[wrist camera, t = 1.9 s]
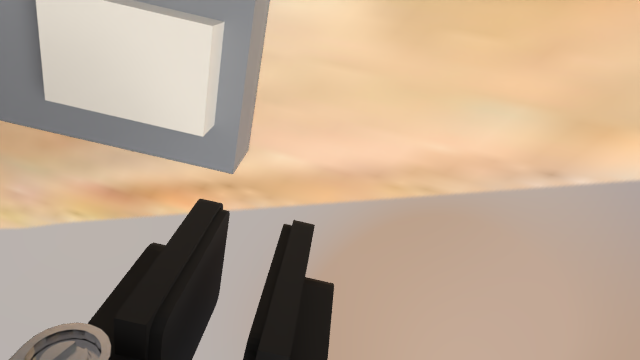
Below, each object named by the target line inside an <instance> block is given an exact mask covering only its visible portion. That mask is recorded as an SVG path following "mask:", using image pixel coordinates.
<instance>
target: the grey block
mask: <svg viewBox="0 0 640 360" xmlns="http://www.w3.org/2000/svg"><path fill="white" fill-rule="evenodd" d="M134 1H139V2H143V3H147V4H151V5H156V6H160V7H164V8H168V9H173V10H177V11H181V12H185V13H190V14H194V15H198V16H202V17H207V18H211V19H215V20H219V21H223V22H225V23H224V33H223V43H222V53H221V63H220V73H219V83H218V93H217V103H216V113H215V123H214V126H213V127H212V128H211V129H210V130H209V131H208V132H207V133H206V134H205V135H204V136H203V137H202V136H198V135H193V134H189V133H185V132H180V131H176V130H172V129H167V128H163V127H159V126H155V125H150V124H146V123H142V122H137V121H133V120H129V119H124V118H120V117H116V116H111V115H107V114H103V113H98V112H94V111H90V110H85V109H81V108H77V107H73V106H68V105H64V104H60V103H55V102H51V101H47V100H45V93H44V83H43V72H42V62H41V51H40V40H39V30H38V19H37V9H36V0H0V120H1V121H5V122H9V123H14V124H18V125H22V126H27V127H31V128H35V129H40V130H44V131H48V132H53V133H57V134H61V135H66V136H70V137H74V138H79V139H83V140H87V141H92V142H96V143H100V144H105V145H109V146H113V147H118V148H122V149H126V150H131V151H135V152H139V153H144V154H148V155H152V156H157V157H161V158H165V159H170V160H174V161H178V162H183V163H187V164H191V165H196V166H200V167H204V168H209V169H213V170H217V171H222V172H226V173H230V174H233V173H234V172H235V170H236V169H237V167H238V165H239V164H240V162H241V161H242V159H243V158H244V156H245V154H246V153H247V151H248V148H249V141H250V135H251V128H252V121H253V114H254V107H255V100H256V93H257V86H258V79H259V72H260V65H261V58H262V51H263V44H264V37H265V30H266V23H267V16H268V9H269V2H270V0H134Z"/></svg>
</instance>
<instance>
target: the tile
mask: <svg viewBox="0 0 640 360" xmlns="http://www.w3.org/2000/svg"><path fill="white" fill-rule="evenodd" d="M36 9H37V19H38V30H39V40H40V51H41V62H42V72H43V83H44V93H45V100H47V101H51V102H55V103H60V104H64V105H68V106H73V107H77V108H81V109H85V110H90V111H94V112H98V113H103V114H107V115H111V116H116V117H120V118H124V119H129V120H133V121H137V122H142V123H146V124H150V125H155V126H159V127H163V128H167V129H172V130H176V131H180V132H185V133H189V134H193V135H198V136H202V137H203V136H204V135H205V134H206V133H207V132H208V131H209V130H210V129H211V128H212V127H213V126H214V123H215V113H216V103H217V93H218V83H219V73H220V63H221V53H222V43H223V33H224V23H225V22H223V21H219V20H215V19H211V18H207V17H202V16H198V15H194V14H190V13H185V12H181V11H177V10H173V9H168V8H164V7H160V6H156V5H151V4H147V3H143V2H139V1H134V0H36Z"/></svg>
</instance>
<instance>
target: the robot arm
mask: <svg viewBox="0 0 640 360" xmlns="http://www.w3.org/2000/svg"><path fill="white" fill-rule="evenodd" d="M228 221H229V211H226V210H223V204H222V203H217V202H213V201H209V200H204V199H199V200H198V201H197V203H196V204H195V205H194V207H193V208H192V210H191V211H190V212H189V214H188V215H187V217H186V218H185V220H184V221H183V222H182V224H181V225H180V226H179V228H178V229H177V231H176V232H175V233H174V235H173V236H172V238H171V239H170V240H169V242H168V243H167V245H161V244H157V243H152V244H150V245H149V246H148V247H147V248H146V249H145V251H144V252H143V253H142V255H141V256H140V257H139V259H138V260H137V261H136V262H135V264H134V265H133V266H132V267H131V269H130V270H129V271H128V272H127V274H126V275H125V276H124V278H123V279H122V280H121V281H120V283H119V284H118V285H117V287H116V288H115V290H113V292H112V293H111V294H110V296H109V297H108V298H107V299H106V301H105V302H104V303H103V305H102V306H101V307H100V308H99V310H98V311H97V313H96V314H95V315H94V316H93V317H92V319H91V320H90V321H89V323H88V324H84V323H69V324H62V325H58V326H55V327H52V328H48V329H46V330H44V331H43V332H41V333H39V334H37V335H35V336H33V337H32V338H31V339H30V340H29V341H27V342H26V343H25V344H24V345H23V346H22V347H21V348H20V349H19V350H18V351H17V352H16V353H15V354H14V355H13V356H12V357H11V358H10V359H9V360H192V358H193V356H194V354H195V351H196V349H197V347H198V345H199V342H200V340H201V338H202V336H203V333H204V331H205V329H206V326H207V324H208V322H209V320H210V317H211V315H212V313H213V310H214V308H215V306H216V303H217V300H218V296H219V290H220V283H221V276H222V268H223V261H224V253H225V245H226V238H227V230H228V223H229V222H228ZM314 226H315V225H313V224H309V223H304V222H300V221H295V220H294V221H293V224H292V226H291V225H287V224H284V225H283V228H282V231H281V235H280V238H279V241H278V244H277V247H276V250H275V254H274V257H273V260H272V263H271V267H270V270H269V273H268V276H267V279H266V283H265V286H264V289H263V292H262V295H261V299H260V302H259V305H258V308H257V312H256V315H255V318H254V321H253V325H252V328H251V331H250V334H249V338H248V341H247V345H246V350H245V353H244V358H243V360H327V358H328V347H329V335H330V324H331V314H332V303H333V291H334V284H333V283H328V282H324V281H320V280H315V279H311V278H306V277H305V274H306V269H307V263H308V258H309V252H310V247H311V242H312V237H313V231H314Z"/></svg>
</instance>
